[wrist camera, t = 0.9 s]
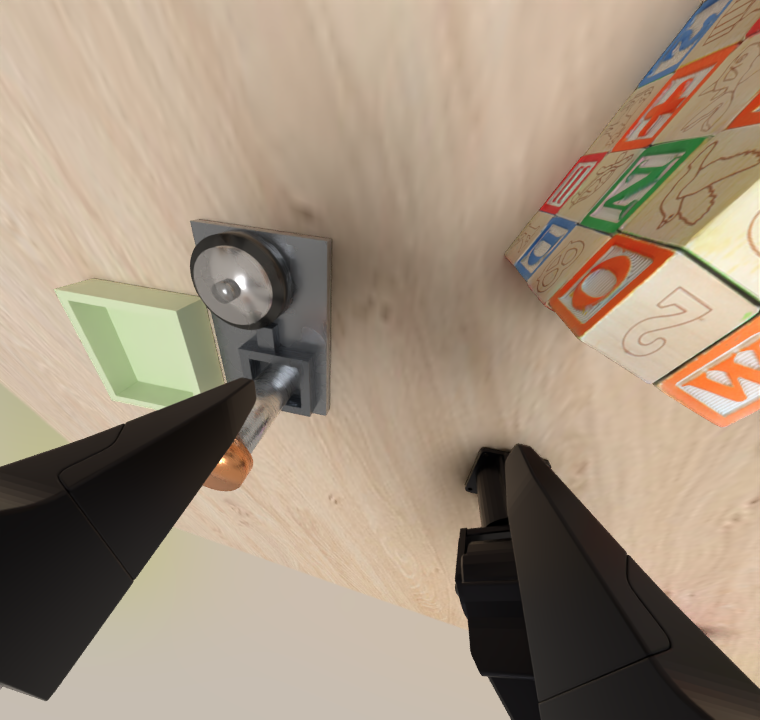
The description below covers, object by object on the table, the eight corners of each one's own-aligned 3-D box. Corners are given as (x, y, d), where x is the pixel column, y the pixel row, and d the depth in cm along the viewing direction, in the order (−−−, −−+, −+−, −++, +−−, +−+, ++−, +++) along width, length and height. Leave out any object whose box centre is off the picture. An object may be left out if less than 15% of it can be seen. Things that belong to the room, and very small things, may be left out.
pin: (307, 398, 27) (247, 497, 18) (263, 389, 27) (184, 482, 19) (306, 358, 25) (235, 452, 16) (258, 349, 25) (164, 436, 16)
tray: (228, 401, 31) (208, 421, 28) (138, 382, 32) (111, 400, 29) (203, 297, 24) (175, 311, 22) (93, 278, 25) (53, 289, 23)
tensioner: (329, 408, 29) (313, 442, 25) (236, 389, 30) (207, 419, 26) (331, 238, 20) (307, 251, 16) (200, 219, 21) (148, 226, 17)
